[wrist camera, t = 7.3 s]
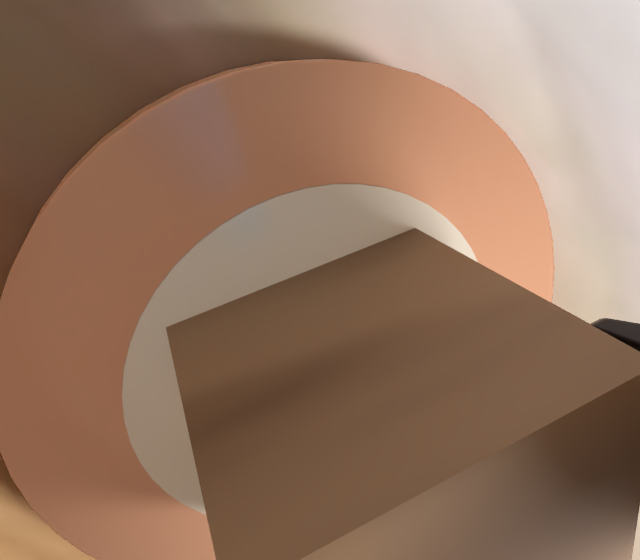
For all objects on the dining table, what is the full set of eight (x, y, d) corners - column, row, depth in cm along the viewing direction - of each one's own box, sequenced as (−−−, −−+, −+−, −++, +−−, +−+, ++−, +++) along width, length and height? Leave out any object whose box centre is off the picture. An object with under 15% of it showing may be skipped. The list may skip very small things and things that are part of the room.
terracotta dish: (523, 416, 16) (555, 444, 14) (154, 614, 13) (158, 667, 12) (509, -12, 10) (560, -21, 9) (-170, 184, 7) (-222, 207, 6)
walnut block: (441, 411, 12) (624, 604, 8) (250, 508, 11) (342, 796, 7) (414, 227, 10) (659, 362, 5) (165, 327, 8) (224, 600, 4)
